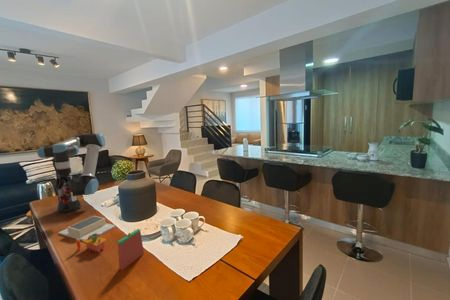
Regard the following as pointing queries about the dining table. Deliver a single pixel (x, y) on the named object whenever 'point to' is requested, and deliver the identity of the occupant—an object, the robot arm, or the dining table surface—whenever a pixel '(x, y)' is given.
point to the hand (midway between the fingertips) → (68, 199)
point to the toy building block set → (127, 247)
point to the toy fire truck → (65, 195)
